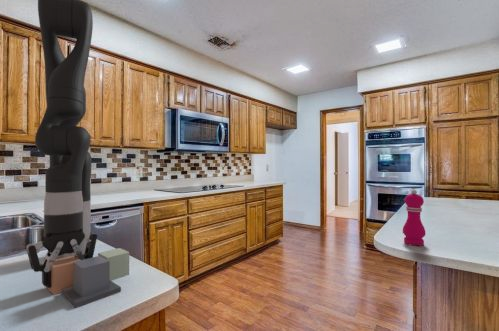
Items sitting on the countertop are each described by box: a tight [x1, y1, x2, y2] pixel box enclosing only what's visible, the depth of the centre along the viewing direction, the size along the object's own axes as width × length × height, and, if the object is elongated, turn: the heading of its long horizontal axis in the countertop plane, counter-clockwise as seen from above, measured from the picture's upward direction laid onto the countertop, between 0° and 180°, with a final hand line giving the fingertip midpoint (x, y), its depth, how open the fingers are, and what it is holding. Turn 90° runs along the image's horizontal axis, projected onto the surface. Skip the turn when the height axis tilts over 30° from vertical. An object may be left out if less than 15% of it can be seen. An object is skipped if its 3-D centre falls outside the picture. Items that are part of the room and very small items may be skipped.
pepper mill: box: [402, 189, 426, 246], centre depth 98 cm, size 7×7×20 cm
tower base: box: [60, 255, 122, 309], centre depth 60 cm, size 9×9×7 cm
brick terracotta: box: [47, 256, 80, 296], centre depth 63 cm, size 6×6×6 cm
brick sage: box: [97, 247, 130, 281], centre depth 69 cm, size 6×6×6 cm
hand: (64, 282), depth 63 cm, fingers closed on brick terracotta, 5 cm apart
